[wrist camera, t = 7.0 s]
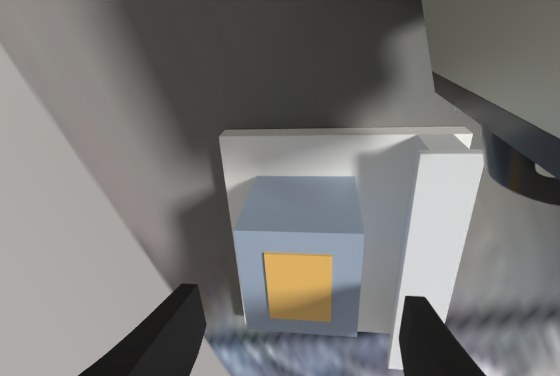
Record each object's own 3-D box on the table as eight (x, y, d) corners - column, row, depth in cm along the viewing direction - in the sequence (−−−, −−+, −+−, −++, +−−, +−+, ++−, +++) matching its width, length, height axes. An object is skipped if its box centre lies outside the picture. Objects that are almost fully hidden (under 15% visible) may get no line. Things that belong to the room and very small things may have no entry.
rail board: (423, 321, 20) (439, 372, 17) (248, 311, 21) (236, 356, 18) (463, 126, 14) (497, 153, 12) (224, 129, 16) (202, 154, 13)
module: (350, 263, 17) (357, 339, 13) (264, 259, 18) (246, 332, 14) (354, 176, 15) (365, 236, 11) (257, 175, 16) (232, 232, 12)
